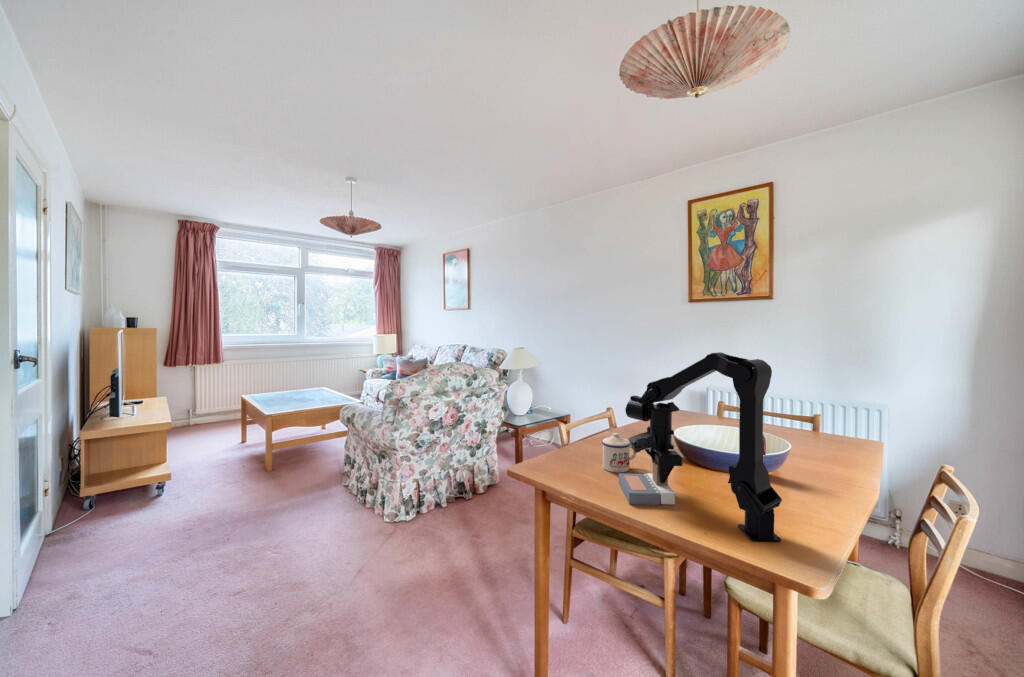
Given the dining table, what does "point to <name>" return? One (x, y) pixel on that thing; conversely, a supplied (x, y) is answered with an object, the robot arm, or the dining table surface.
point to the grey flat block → (639, 489)
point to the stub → (662, 487)
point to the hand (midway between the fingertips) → (660, 479)
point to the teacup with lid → (616, 454)
